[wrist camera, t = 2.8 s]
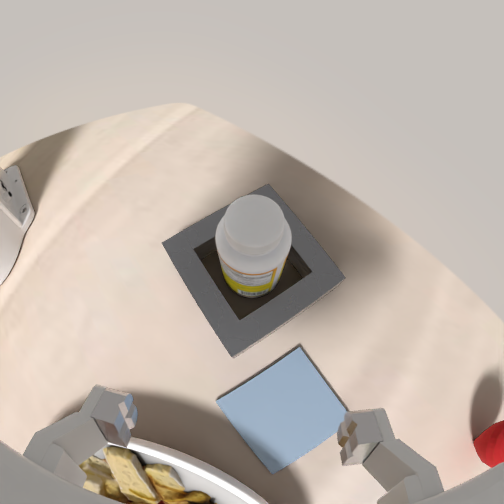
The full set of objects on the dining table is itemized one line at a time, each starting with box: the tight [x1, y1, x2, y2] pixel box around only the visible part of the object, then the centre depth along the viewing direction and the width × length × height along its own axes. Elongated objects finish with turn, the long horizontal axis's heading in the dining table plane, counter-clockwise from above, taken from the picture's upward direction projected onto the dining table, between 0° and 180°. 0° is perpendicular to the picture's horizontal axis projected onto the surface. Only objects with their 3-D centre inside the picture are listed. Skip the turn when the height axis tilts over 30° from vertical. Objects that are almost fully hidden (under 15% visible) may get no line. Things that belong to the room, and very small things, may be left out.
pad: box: [216, 347, 347, 474], centre depth 22 cm, size 9×9×1 cm
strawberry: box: [474, 420, 504, 468], centre depth 14 cm, size 6×8×10 cm
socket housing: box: [162, 184, 345, 358], centre depth 26 cm, size 12×12×3 cm
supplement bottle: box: [215, 194, 292, 298], centre depth 23 cm, size 6×6×10 cm
